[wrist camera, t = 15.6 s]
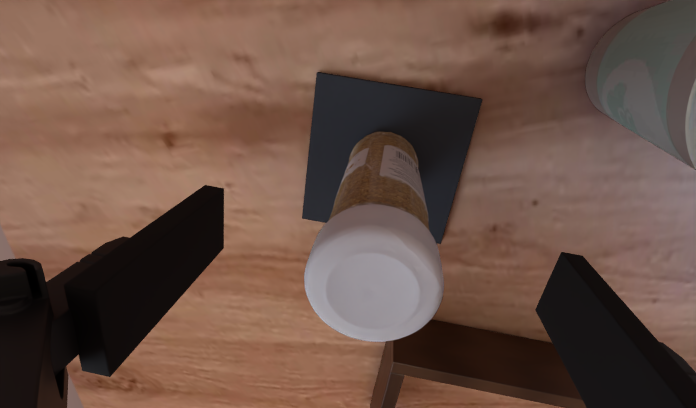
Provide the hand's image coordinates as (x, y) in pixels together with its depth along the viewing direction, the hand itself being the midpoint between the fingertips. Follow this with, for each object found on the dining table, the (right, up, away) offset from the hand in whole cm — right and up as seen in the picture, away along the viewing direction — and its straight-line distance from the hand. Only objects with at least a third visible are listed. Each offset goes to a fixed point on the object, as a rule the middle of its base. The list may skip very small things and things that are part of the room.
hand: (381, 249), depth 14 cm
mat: (+1, +5, +10) cm, 11 cm away
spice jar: (+1, +4, +10) cm, 11 cm away
